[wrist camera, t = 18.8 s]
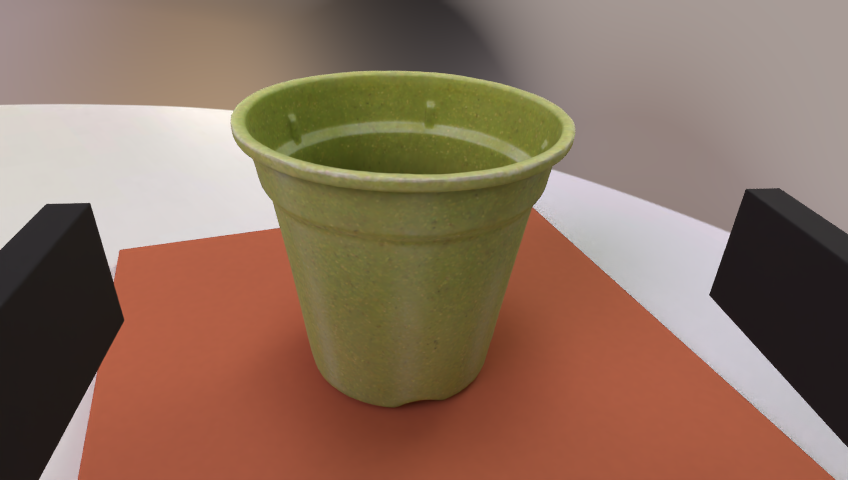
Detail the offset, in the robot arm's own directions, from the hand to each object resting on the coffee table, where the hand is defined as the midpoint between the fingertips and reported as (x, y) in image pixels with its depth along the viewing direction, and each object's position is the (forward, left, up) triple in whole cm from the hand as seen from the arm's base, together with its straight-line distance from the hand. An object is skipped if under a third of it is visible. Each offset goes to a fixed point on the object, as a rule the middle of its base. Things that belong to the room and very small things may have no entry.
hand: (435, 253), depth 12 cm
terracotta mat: (-1, -6, -8) cm, 10 cm away
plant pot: (-1, -6, -8) cm, 10 cm away
